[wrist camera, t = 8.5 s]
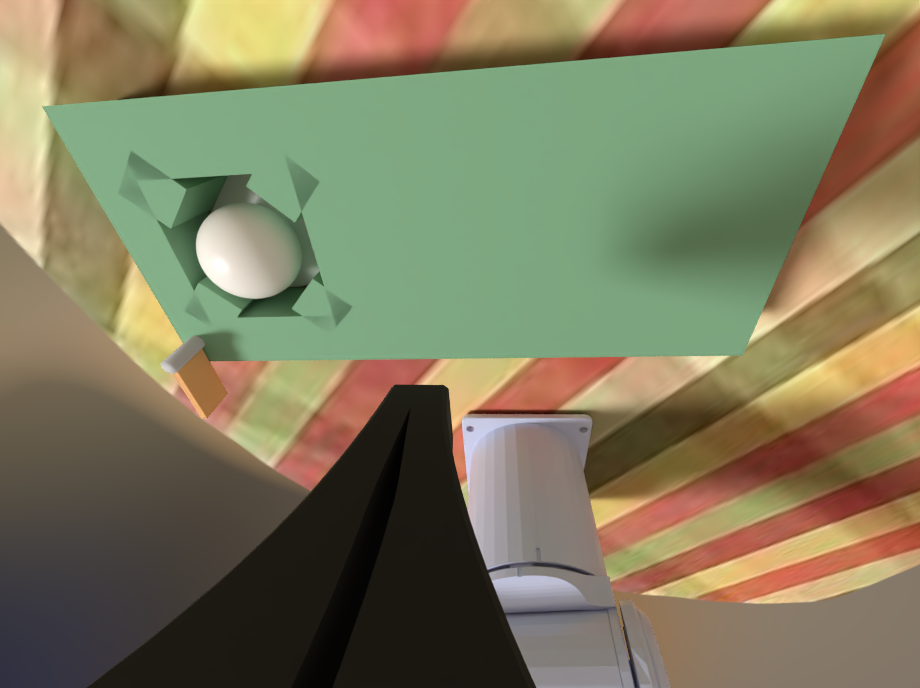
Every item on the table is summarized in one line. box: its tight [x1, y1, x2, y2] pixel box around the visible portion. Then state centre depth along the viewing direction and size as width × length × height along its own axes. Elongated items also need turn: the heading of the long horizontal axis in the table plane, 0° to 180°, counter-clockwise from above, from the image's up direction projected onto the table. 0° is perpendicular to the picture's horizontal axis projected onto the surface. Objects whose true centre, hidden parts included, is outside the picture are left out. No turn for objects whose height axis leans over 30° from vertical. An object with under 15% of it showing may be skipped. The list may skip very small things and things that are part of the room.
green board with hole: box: [43, 34, 886, 418], centre depth 16 cm, size 13×26×5 cm, turn 94°
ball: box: [196, 203, 302, 299], centre depth 16 cm, size 4×4×4 cm
